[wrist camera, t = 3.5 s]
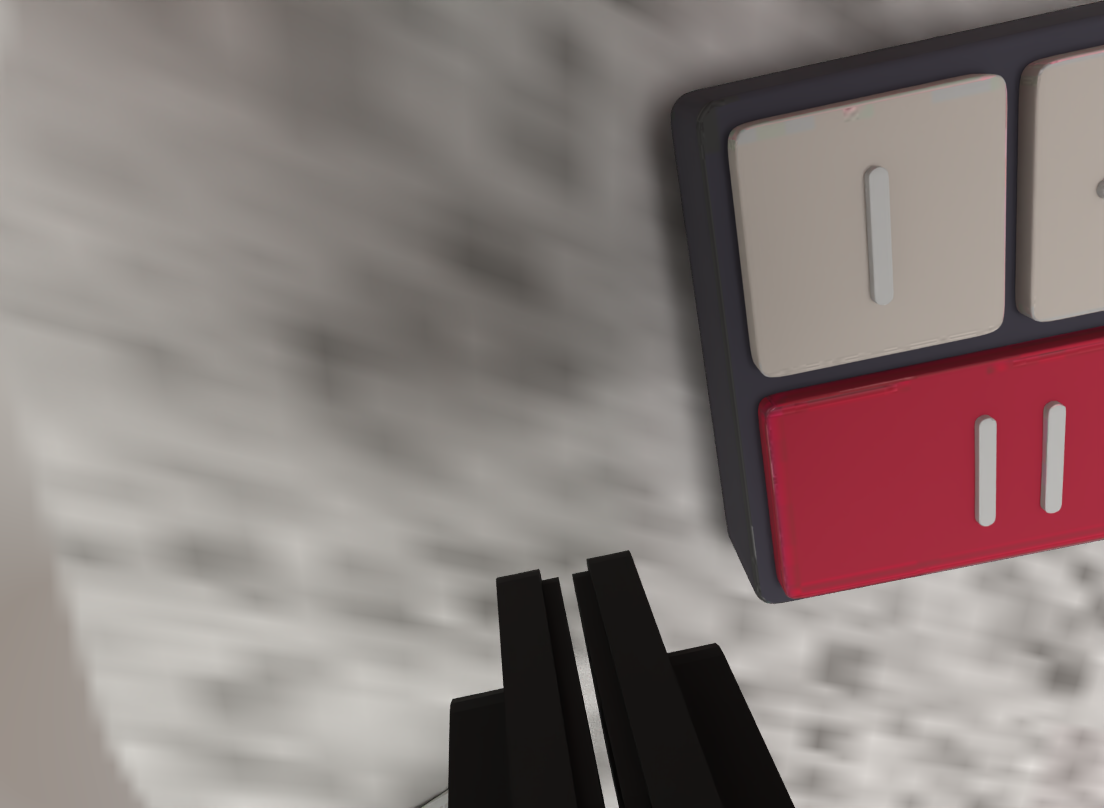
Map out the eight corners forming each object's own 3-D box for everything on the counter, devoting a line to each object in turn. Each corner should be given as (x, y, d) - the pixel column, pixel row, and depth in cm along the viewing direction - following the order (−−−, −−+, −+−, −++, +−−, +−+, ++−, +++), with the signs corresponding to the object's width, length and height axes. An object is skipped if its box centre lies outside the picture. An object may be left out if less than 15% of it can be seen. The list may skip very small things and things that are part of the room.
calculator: (702, 105, 14) (1630, -97, 13) (658, 94, 18) (1371, -62, 17) (767, 633, 18) (1471, 495, 17) (720, 528, 22) (1293, 414, 21)
